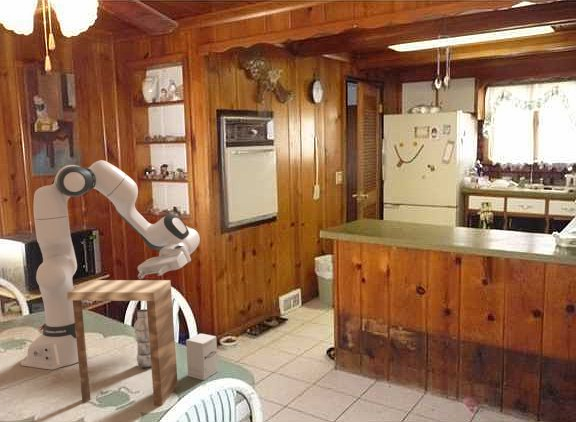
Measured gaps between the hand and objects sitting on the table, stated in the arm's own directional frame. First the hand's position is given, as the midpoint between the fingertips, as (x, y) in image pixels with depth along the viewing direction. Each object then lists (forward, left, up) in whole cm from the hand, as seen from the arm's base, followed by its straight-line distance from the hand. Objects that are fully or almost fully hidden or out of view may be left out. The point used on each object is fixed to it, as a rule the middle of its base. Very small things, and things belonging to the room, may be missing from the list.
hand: (149, 275), depth 183 cm
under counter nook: (+3, -28, -30) cm, 41 cm away
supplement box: (+22, -13, -31) cm, 40 cm away
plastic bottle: (0, -8, -31) cm, 32 cm away
